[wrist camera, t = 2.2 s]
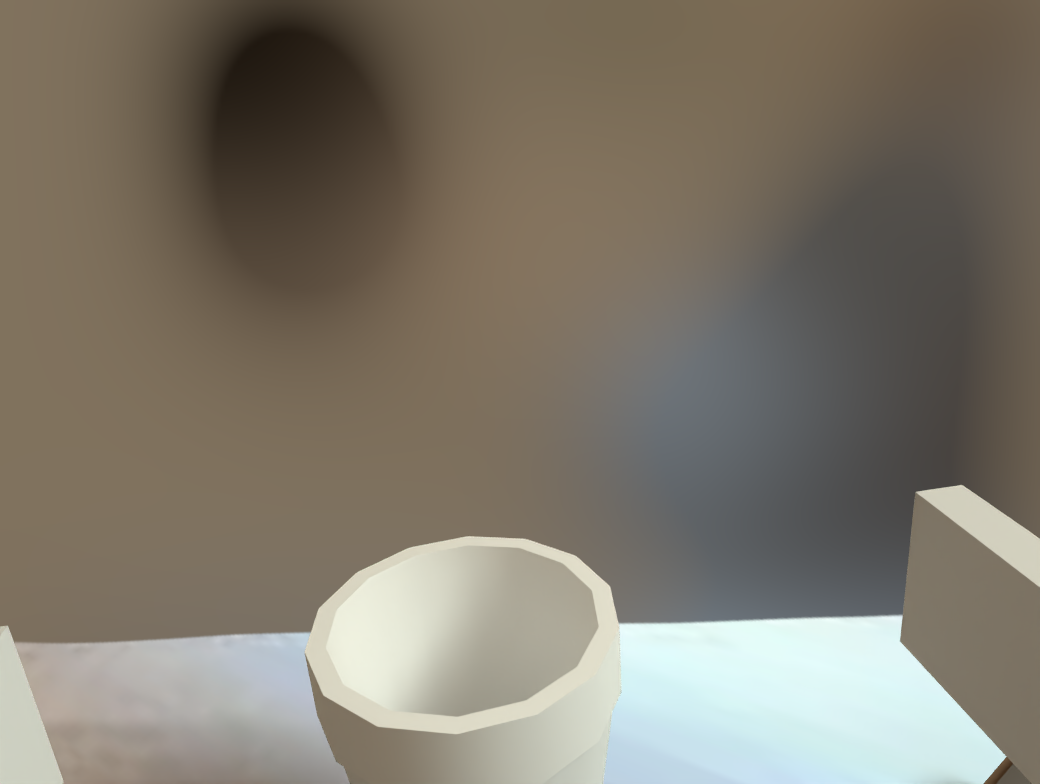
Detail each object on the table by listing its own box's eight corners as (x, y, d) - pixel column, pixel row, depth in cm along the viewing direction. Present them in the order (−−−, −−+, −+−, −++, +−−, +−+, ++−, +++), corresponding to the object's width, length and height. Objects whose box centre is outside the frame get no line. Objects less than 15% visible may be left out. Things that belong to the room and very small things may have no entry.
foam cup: (311, 947, 29) (241, 648, 25) (477, 773, 36) (447, 512, 31) (526, 1130, 24) (489, 790, 19) (674, 885, 31) (674, 588, 26)
